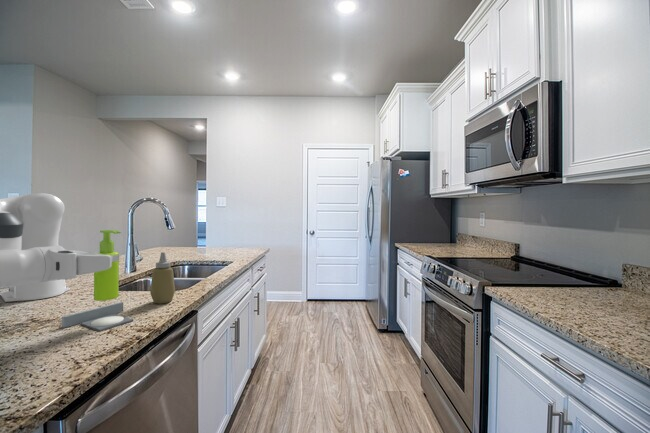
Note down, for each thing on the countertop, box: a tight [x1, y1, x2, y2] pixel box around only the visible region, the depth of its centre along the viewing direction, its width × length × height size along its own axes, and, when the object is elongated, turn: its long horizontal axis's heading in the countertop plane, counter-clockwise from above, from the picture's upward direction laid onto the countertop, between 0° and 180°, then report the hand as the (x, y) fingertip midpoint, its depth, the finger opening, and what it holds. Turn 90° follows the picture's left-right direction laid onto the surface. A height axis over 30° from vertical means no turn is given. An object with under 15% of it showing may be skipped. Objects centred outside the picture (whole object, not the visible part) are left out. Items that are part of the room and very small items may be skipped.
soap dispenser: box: [93, 229, 122, 302], centre depth 89 cm, size 6×7×20 cm
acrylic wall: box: [61, 301, 124, 329], centre depth 93 cm, size 1×16×3 cm, turn 153°
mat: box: [80, 313, 134, 332], centre depth 89 cm, size 10×9×1 cm
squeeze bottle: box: [149, 251, 176, 305], centre depth 110 cm, size 8×8×18 cm
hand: (110, 256), depth 90 cm, fingers closed on soap dispenser, 6 cm apart
